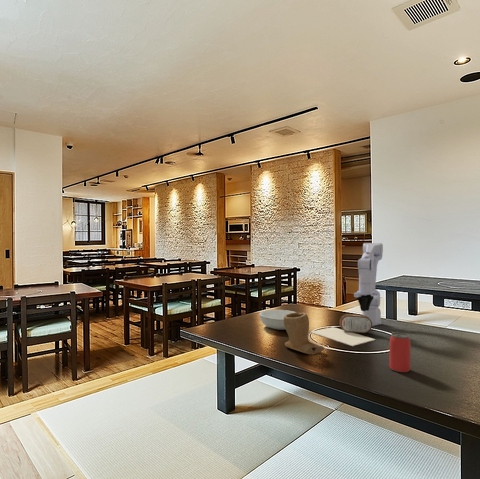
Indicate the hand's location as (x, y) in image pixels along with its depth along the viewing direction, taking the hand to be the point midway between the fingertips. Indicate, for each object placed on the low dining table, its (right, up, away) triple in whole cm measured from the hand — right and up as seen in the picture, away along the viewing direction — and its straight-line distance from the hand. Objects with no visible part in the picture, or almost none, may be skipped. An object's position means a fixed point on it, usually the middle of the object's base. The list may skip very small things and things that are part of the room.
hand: (364, 310), depth 166 cm
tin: (-6, -10, -4) cm, 12 cm away
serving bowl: (-41, -10, +5) cm, 42 cm away
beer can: (-6, -11, -49) cm, 50 cm away
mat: (-14, -10, -10) cm, 20 cm away
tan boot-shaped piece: (-37, -10, -30) cm, 48 cm away
